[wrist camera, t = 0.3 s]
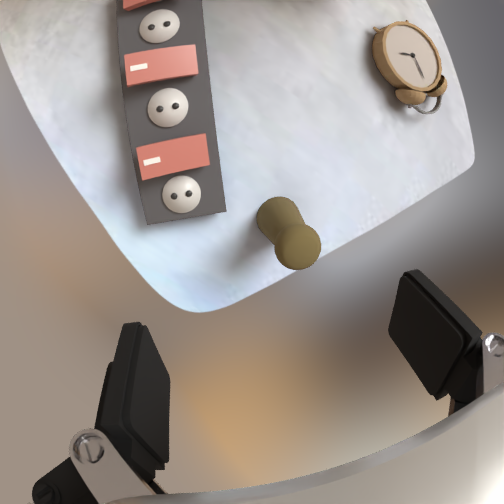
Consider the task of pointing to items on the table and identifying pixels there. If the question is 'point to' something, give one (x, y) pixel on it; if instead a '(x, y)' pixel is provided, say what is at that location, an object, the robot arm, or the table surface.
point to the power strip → (171, 109)
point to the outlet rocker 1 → (136, 3)
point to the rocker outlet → (173, 155)
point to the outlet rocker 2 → (160, 64)
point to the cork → (288, 233)
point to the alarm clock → (409, 63)
